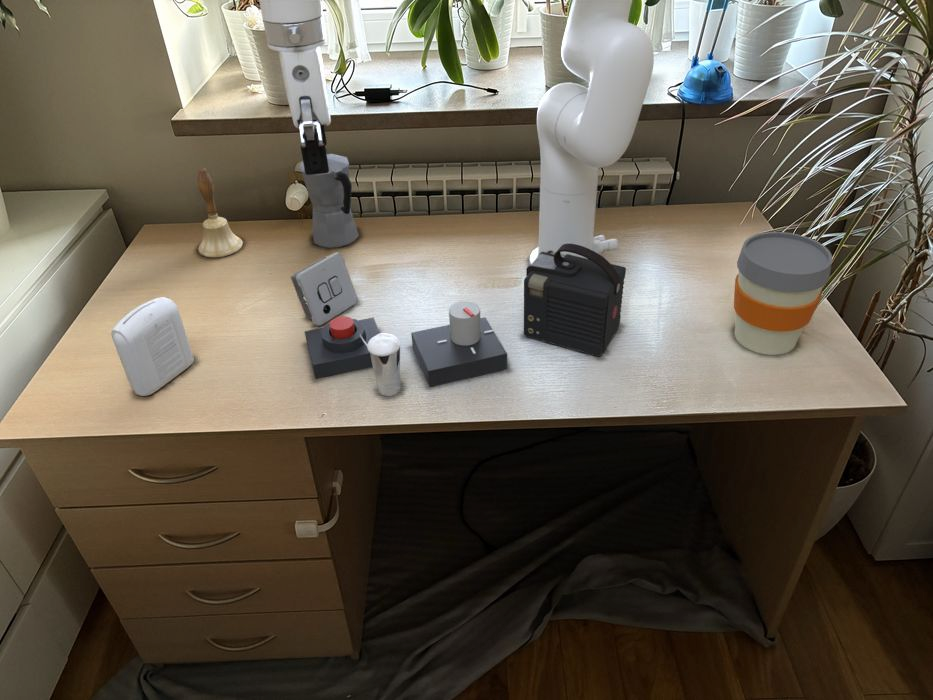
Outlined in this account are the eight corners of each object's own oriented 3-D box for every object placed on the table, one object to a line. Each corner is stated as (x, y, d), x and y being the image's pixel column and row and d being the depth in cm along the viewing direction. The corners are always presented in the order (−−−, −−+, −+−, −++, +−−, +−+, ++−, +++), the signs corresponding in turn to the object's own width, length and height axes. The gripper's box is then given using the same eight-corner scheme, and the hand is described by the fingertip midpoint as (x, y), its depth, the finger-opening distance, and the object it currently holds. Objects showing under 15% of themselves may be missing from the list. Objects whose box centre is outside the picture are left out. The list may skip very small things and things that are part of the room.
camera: (544, 302, 125) (547, 221, 116) (624, 322, 119) (634, 239, 110) (517, 337, 117) (517, 253, 108) (602, 360, 112) (610, 274, 103)
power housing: (375, 330, 120) (372, 307, 117) (387, 363, 113) (384, 339, 110) (307, 344, 117) (302, 321, 115) (315, 379, 111) (310, 355, 108)
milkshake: (368, 380, 110) (360, 325, 104) (404, 378, 110) (398, 322, 104) (367, 401, 106) (359, 345, 100) (405, 398, 106) (399, 342, 100)
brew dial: (444, 334, 113) (442, 305, 110) (470, 324, 115) (469, 295, 112) (460, 349, 110) (459, 320, 107) (486, 339, 112) (486, 309, 109)
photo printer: (179, 353, 117) (157, 286, 109) (199, 361, 115) (178, 293, 108) (127, 392, 110) (99, 323, 102) (148, 400, 108) (121, 331, 100)
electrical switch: (318, 329, 121) (305, 278, 116) (297, 320, 124) (284, 271, 119) (359, 303, 127) (348, 253, 121) (338, 295, 129) (327, 247, 124)
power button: (352, 323, 114) (351, 314, 113) (357, 336, 112) (355, 327, 111) (329, 328, 114) (327, 318, 113) (333, 341, 111) (331, 332, 110)
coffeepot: (298, 232, 147) (281, 144, 136) (340, 217, 152) (327, 131, 141) (336, 262, 137) (321, 170, 126) (380, 246, 142) (369, 156, 131)
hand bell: (235, 232, 148) (216, 156, 138) (248, 249, 142) (229, 171, 133) (193, 244, 145) (171, 166, 135) (205, 262, 139) (183, 182, 129)
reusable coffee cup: (808, 369, 108) (835, 281, 99) (718, 353, 112) (737, 267, 103) (808, 321, 118) (833, 237, 109) (726, 308, 121) (743, 226, 112)
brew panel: (485, 331, 119) (484, 314, 117) (507, 369, 111) (507, 352, 109) (411, 346, 116) (410, 330, 114) (429, 387, 108) (427, 370, 106)
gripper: (327, 47, 89) (346, 181, 99) (323, 13, 102) (340, 134, 113) (263, 53, 88) (289, 187, 98) (267, 17, 101) (290, 139, 112)
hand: (316, 159), depth 105 cm, fingers open, 9 cm apart
